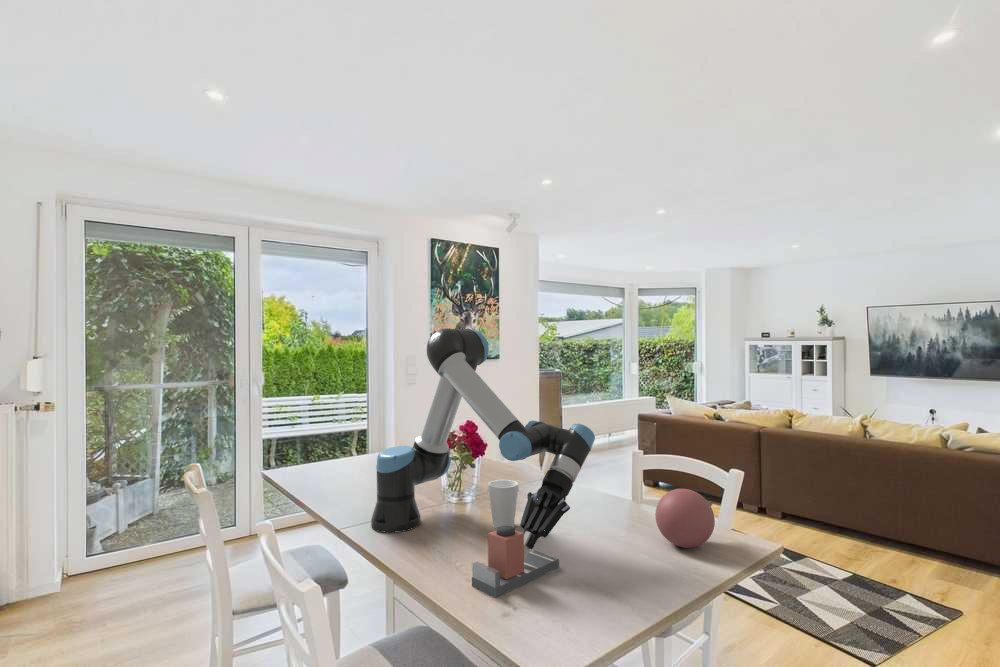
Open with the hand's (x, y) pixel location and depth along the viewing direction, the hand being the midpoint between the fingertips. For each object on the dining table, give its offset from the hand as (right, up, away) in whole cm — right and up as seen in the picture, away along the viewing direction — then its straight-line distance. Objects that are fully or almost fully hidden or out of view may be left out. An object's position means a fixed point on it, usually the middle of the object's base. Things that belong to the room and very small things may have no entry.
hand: (518, 558), depth 126 cm
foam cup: (-3, -5, +35) cm, 35 cm away
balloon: (+48, -4, +18) cm, 52 cm away
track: (0, -4, -1) cm, 4 cm away
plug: (-3, -2, -3) cm, 5 cm away
